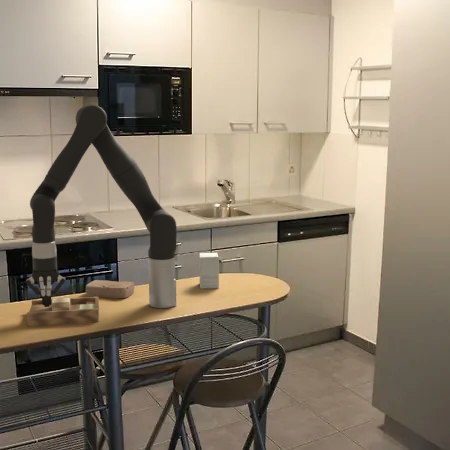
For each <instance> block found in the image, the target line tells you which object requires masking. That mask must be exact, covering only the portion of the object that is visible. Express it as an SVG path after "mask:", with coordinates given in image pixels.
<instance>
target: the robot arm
mask: <svg viewBox="0 0 450 450" xmlns="http://www.w3.org/2000/svg"><path fill="white" fill-rule="evenodd" d="M75 123H76V126H75V128H74V130H73V133H72V135H71V137H70V138H69V140H68V141H67V143H66V145H65V146H64V148H62V150H61V151H60V153H59V154H58V155H57V157H56V158H55V160H54V161H53V163H52V164H51V166H50V168H49V169H48V171H47V173H46V174H45V177H44V179H43V181H41V183H40V184H39V185H38V187H37V188H36V190H35V191H34V192H33V194H32V195H31V198H30V200H29V207H30V210H31V213H32V224H33V225H32V227H31V235H32V237H31V239H32V246H31V256H32V273H31V276H30V277H28V278H27V279H25V284H26V286H28V287H29V288H30V289H31V291H32V292H34V294H35V295H38V296H41V300H42V304H43V305H44V307H49V305H51V302H52V301H51V299H52V295H55V294H57V292H58V291H59V289H60V288H61V287H62V286H63V285H64V283H65V282H66V276H62V275H60V272H59V271H58V255H57V245H56V234H55V233H56V231H55V230H56V229H55V219H56V205H55V201H57V198H58V197H59V194H60V193H61V192H63V191H64V190H65V189H66V187H67V185H68V183H69V182H70V180H71V178H72V177H73V175H74V174H75V171H76V169H77V168H78V167H79V164H80V162H81V160H82V158H83V156H84V155H85V153H86V152H87V150H88V149H89V147H90V146H91V145H92V146H93V147H94V148H95V150H96V151H97V153H98V155H99V157H100V159H101V161H102V162H103V164H104V165H105V168H106V169H107V171H108V172H109V174H110V175H111V177H112V179H113V180H114V181H115V183H116V185H117V186H118V187H119V188H120V190H121V191H122V192H123V195H125V196H126V198H128V200H129V201H130V202H131V204H132V205H133V206H134V207H135V208H136V211H137V212H138V214H139V216H140V218H141V219H142V222H143V223H144V226H145V227H146V229H147V231H148V232H149V248H148V251H147V252H148V253H147V255H148V260H147V261H148V297H149V298H148V301H149V306H150V307H152V308H155V309H167V308H168V309H169V308H172V307H177V279H176V250H177V240H178V239H177V238H178V235H177V234H178V233H177V231H178V230H177V222H176V219H175V217H174V216H172V215H171V214H170V213H168V212H167V211H166V210H165V209H164V208H163V207H162V206H161V204H160V203H159V201H157V199H156V198H155V196H154V195H153V193H152V190H151V188H150V186H149V183H148V181H147V178H146V176H145V175H144V173H143V171H142V169H141V168H140V167H139V164H137V162H136V161H135V159H134V158H133V156H132V155H131V154H130V153H129V152H128V150H127V149H126V148H125V147H124V146H123V145H122V144H121V143H120V142H119V141H118V140H117V139H116V137H115V136H114V135H113V133H112V131H111V129H110V128H109V126H108V115H107V113H106V111H105V110H104V109H103V107H101V106H99V105H96V104H88V105H84V106H82V107H80V108H79V109H78V111H76V114H75ZM56 281H57V284H56V285H55V286H54V288H52V285H53V284H54V283H55V282H56ZM35 282H36V283H37V285H39V286H40V287H38V286H37V285H36V284H35Z"/></svg>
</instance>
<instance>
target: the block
mask: <svg viewBox="0 0 450 450" xmlns="http://www.w3.org/2000/svg"><path fill="white" fill-rule="evenodd" d="M70 298H71V297H61V298H60V297H59V298H52V299H53V300H52V311H60V310H70Z"/></svg>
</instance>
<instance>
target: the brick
mask: <svg viewBox="0 0 450 450" xmlns="http://www.w3.org/2000/svg"><path fill="white" fill-rule="evenodd" d="M134 293H135V282H133V281H114V280H113V281H112V280H107V279H106V280H102V279H100V280H99V279H95V280H93V281H90V282H89V283H88V284H86V285H85V296H86V297H98V298H112V299H125V298H128V297H130V296H132V295H133V294H134Z"/></svg>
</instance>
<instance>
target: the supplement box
mask: <svg viewBox="0 0 450 450" xmlns="http://www.w3.org/2000/svg"><path fill="white" fill-rule="evenodd" d="M198 259H199V286H200V287H199V288H200V289H202V290H203V289H219V286H220V277H219V276H220V275H219V274H220V273H219V272H220V270H219V268H220V267H219V266H220V265H219V264H220V263H219V261H220V260H219V259H220V257H219V255H218V252H199V257H198Z"/></svg>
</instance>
